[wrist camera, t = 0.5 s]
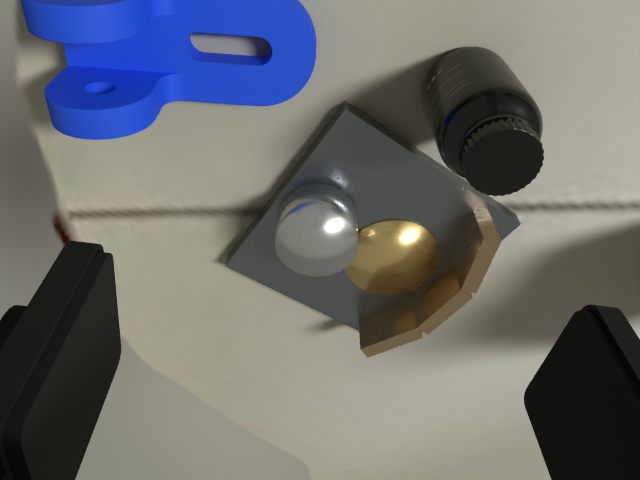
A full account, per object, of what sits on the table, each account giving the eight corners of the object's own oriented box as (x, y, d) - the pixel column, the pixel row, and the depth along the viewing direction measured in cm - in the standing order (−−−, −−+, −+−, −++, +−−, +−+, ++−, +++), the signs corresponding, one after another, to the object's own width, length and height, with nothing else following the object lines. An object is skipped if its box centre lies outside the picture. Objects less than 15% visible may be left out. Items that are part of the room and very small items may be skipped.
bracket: (83, 82, 42) (34, 135, 35) (59, -35, 37) (-4, 0, 30) (312, 98, 43) (310, 154, 36) (320, -14, 37) (319, 25, 30)
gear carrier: (345, 101, 43) (347, 133, 38) (516, 214, 49) (534, 252, 45) (227, 256, 53) (219, 295, 48) (383, 332, 59) (387, 372, 55)
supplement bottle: (527, 68, 41) (588, 144, 31) (472, 140, 45) (512, 226, 35) (454, 26, 39) (495, 93, 30) (403, 104, 43) (425, 186, 33)
